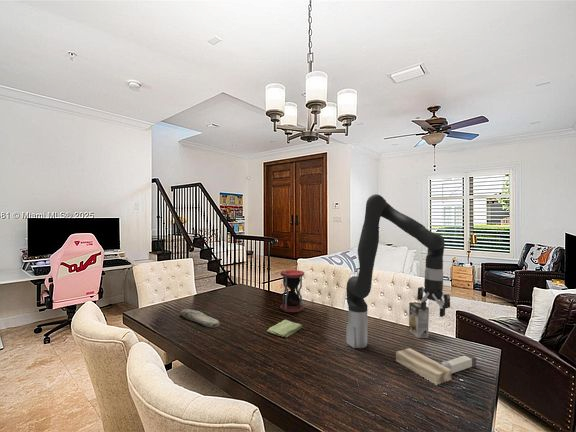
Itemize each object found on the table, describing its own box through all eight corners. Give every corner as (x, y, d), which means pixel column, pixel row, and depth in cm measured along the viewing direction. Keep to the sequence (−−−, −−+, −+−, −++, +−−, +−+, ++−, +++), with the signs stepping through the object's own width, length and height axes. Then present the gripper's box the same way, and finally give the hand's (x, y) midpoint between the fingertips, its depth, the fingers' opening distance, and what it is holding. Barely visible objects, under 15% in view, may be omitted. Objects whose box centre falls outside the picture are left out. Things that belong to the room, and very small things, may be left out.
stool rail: (436, 385, 108) (436, 374, 108) (395, 360, 126) (395, 351, 126) (451, 380, 111) (451, 369, 111) (409, 356, 129) (409, 348, 129)
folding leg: (447, 375, 114) (447, 366, 114) (439, 371, 117) (439, 362, 117) (476, 366, 121) (476, 357, 121) (467, 362, 125) (467, 353, 125)
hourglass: (289, 303, 207) (289, 268, 206) (308, 307, 197) (308, 271, 197) (275, 309, 193) (275, 272, 193) (295, 314, 184) (295, 275, 184)
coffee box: (408, 331, 159) (408, 302, 158) (419, 330, 159) (419, 302, 159) (417, 338, 149) (417, 307, 149) (428, 337, 150) (429, 307, 150)
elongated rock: (209, 333, 157) (223, 328, 165) (210, 323, 157) (224, 319, 165) (175, 315, 179) (189, 312, 187) (176, 306, 179) (190, 304, 187)
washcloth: (265, 333, 155) (265, 327, 155) (285, 323, 169) (285, 318, 169) (284, 340, 147) (284, 333, 147) (303, 329, 161) (303, 323, 161)
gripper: (414, 275, 133) (413, 309, 134) (444, 282, 121) (443, 320, 121) (424, 273, 137) (423, 307, 137) (454, 280, 125) (453, 317, 125)
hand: (432, 313), depth 129 cm, fingers open, 8 cm apart
